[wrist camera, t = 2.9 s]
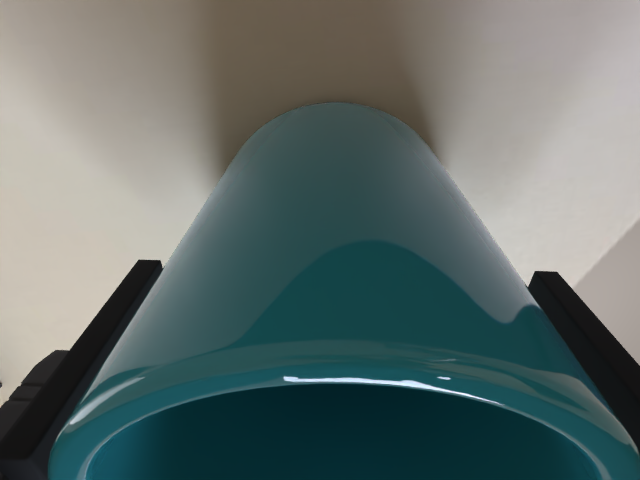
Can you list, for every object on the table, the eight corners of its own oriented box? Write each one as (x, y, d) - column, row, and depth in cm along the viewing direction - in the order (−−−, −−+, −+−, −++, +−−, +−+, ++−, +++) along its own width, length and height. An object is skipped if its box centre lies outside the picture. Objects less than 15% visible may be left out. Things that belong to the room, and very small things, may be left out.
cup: (309, 346, 20) (290, 649, 11) (183, 154, 14) (-114, 454, 5) (474, 301, 18) (635, 630, 8) (408, 52, 12) (693, 227, 3)
